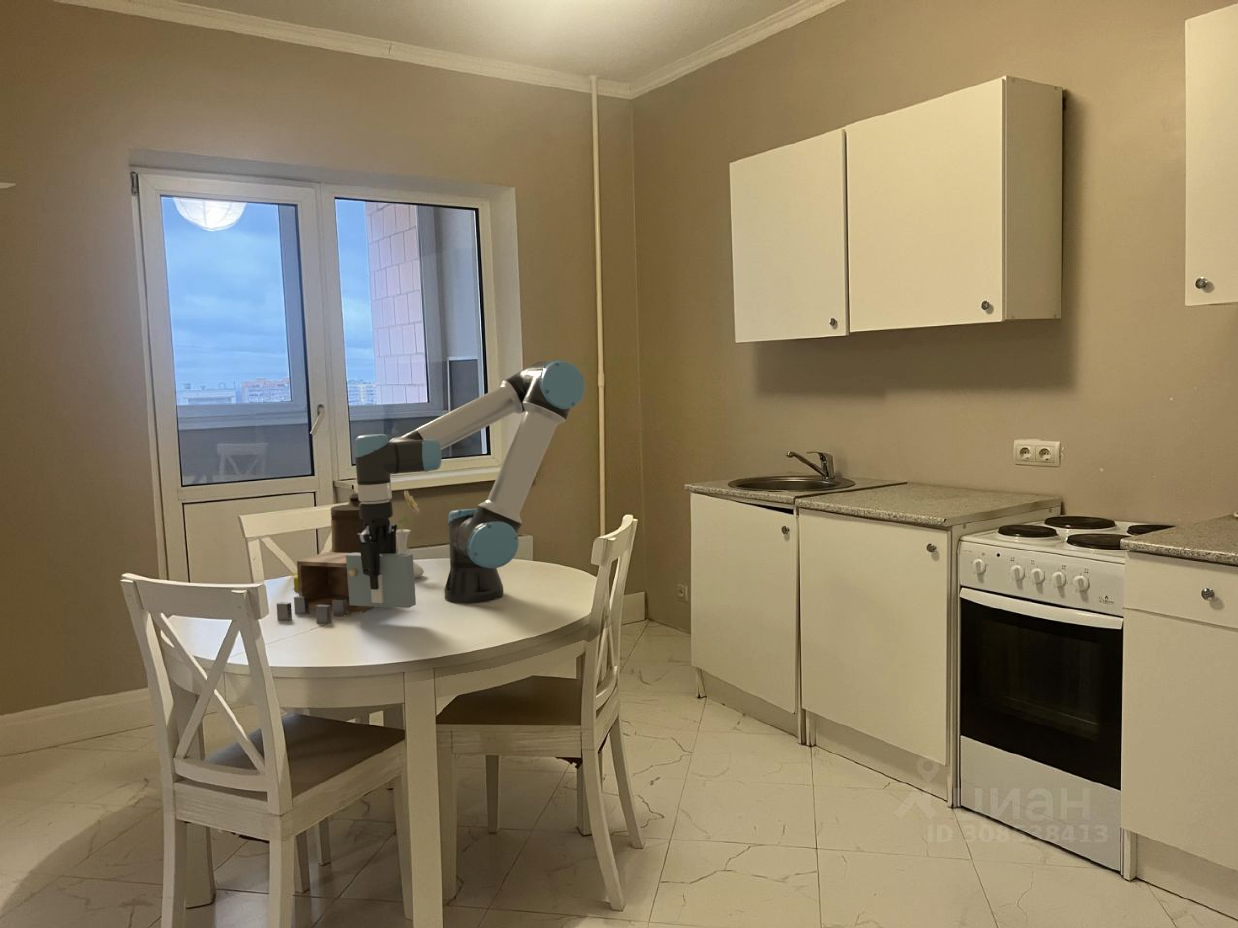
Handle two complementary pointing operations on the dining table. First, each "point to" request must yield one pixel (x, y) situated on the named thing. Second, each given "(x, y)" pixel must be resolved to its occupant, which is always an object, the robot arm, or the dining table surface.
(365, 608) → the cabinet
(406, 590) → the door
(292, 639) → the dining table surface
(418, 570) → the flower in vase
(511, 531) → the robot arm
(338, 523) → the wooden container
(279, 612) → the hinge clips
